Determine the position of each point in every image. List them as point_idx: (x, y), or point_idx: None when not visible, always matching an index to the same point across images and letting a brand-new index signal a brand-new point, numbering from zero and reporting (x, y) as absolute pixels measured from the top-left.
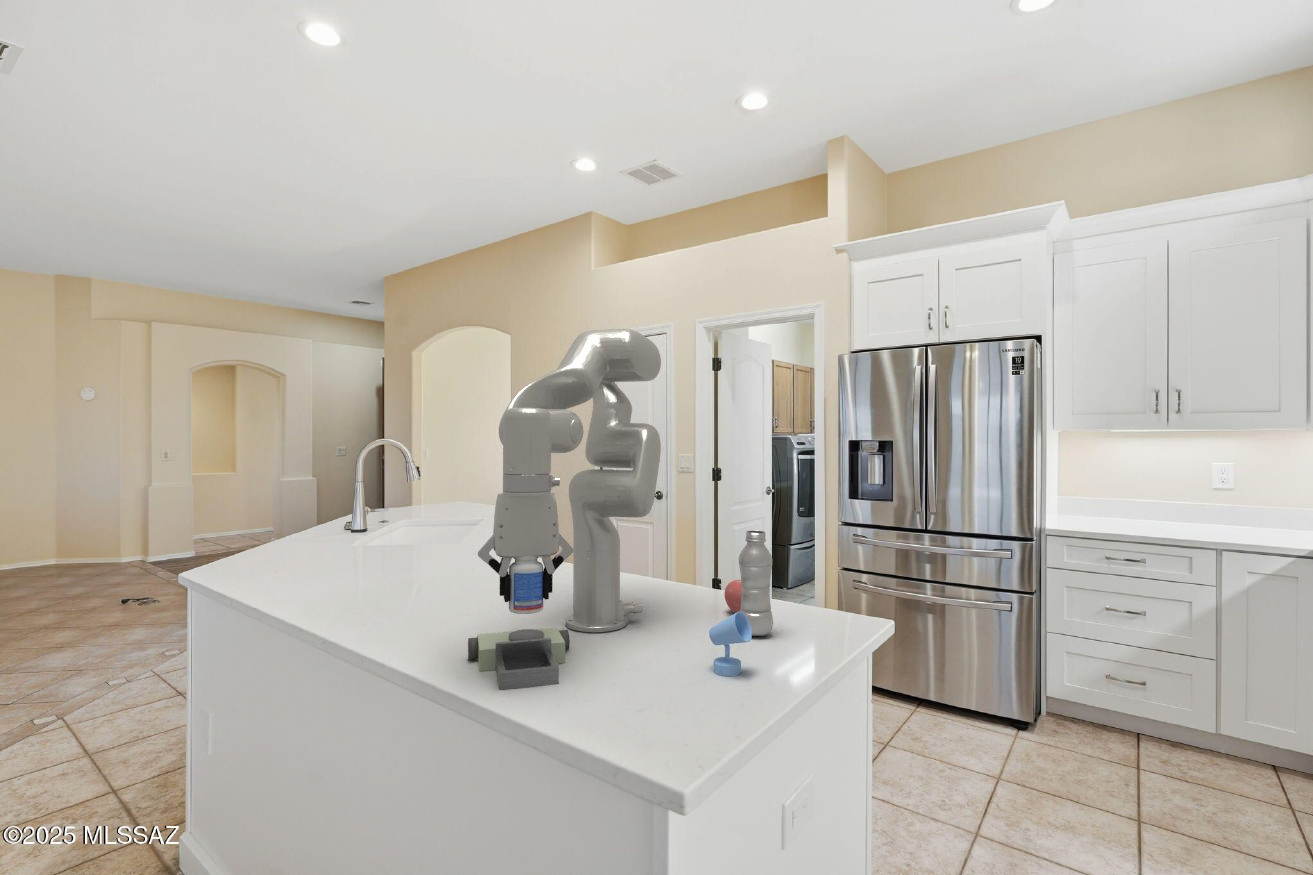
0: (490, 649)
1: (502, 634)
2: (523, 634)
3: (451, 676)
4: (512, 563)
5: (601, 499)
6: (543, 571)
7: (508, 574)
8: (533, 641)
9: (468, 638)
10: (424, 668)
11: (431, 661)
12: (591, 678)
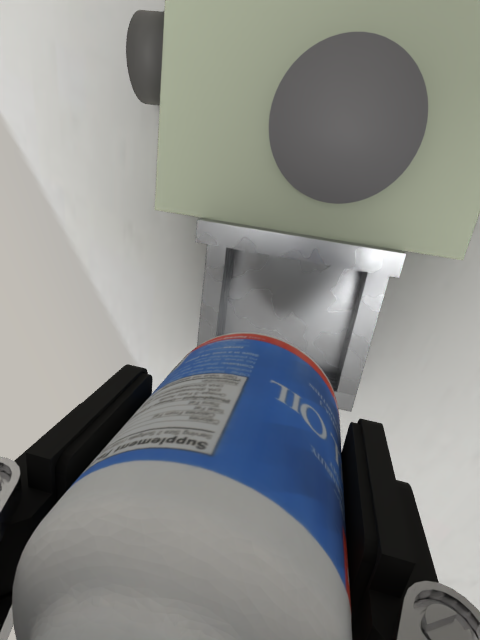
0: (188, 214)
1: (263, 29)
2: (331, 122)
3: (110, 210)
4: (18, 629)
5: None
6: (377, 571)
7: (64, 488)
8: (328, 264)
9: (126, 43)
10: (42, 106)
11: (56, 39)
12: (445, 398)
